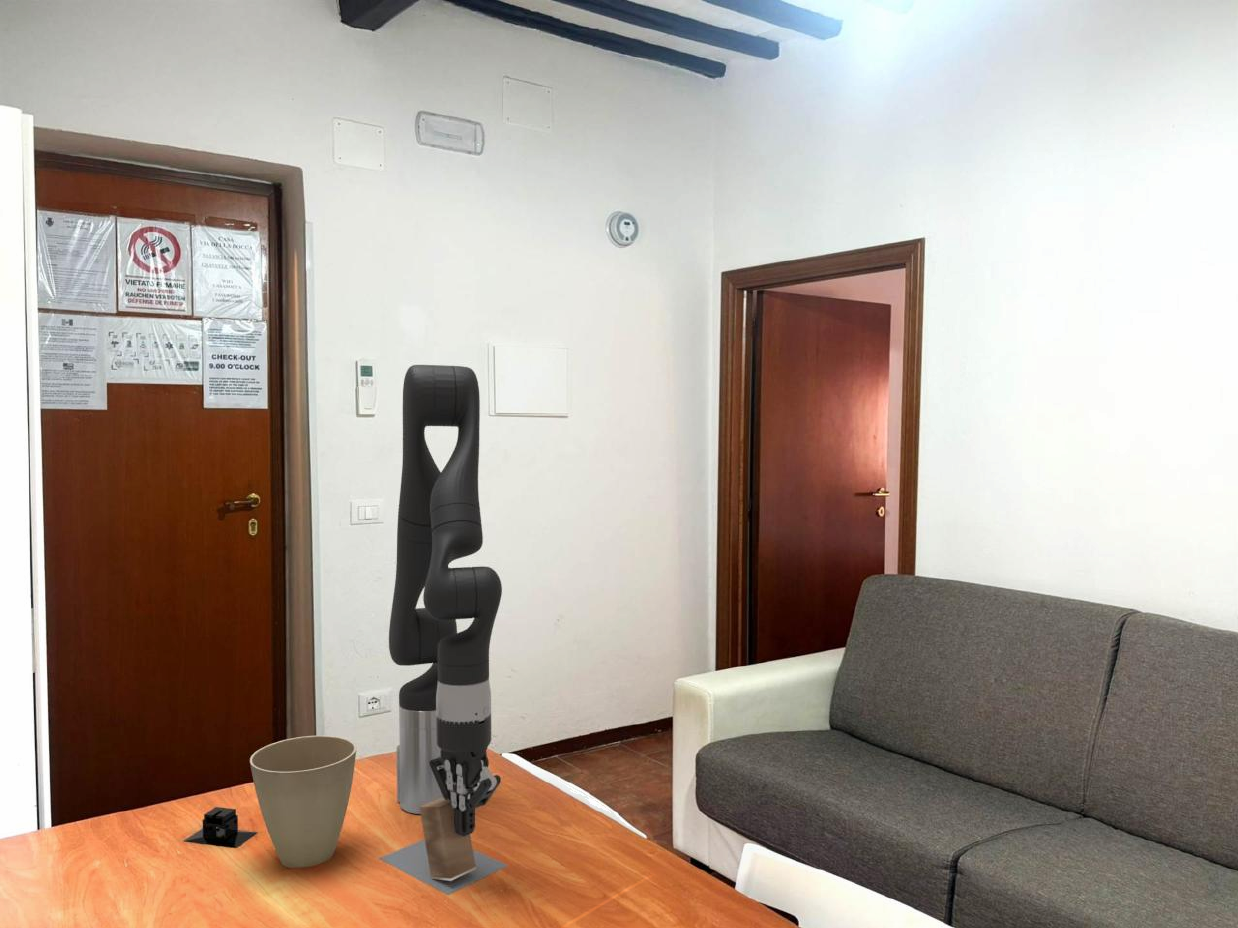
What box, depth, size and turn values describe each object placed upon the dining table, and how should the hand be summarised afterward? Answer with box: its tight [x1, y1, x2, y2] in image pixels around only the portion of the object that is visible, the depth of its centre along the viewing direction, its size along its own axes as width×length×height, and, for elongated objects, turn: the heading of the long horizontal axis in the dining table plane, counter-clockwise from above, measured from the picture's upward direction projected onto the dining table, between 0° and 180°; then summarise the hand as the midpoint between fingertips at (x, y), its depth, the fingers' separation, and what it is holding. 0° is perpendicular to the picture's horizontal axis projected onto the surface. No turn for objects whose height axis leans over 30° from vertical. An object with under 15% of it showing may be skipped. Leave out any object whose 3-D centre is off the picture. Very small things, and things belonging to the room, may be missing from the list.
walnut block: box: [420, 797, 476, 881], centre depth 135 cm, size 4×4×10 cm
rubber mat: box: [378, 838, 509, 896], centre depth 139 cm, size 16×11×1 cm
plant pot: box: [249, 735, 357, 869], centre depth 141 cm, size 15×15×16 cm
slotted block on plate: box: [182, 806, 259, 849], centre depth 148 cm, size 12×7×5 cm, turn 76°
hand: (464, 833), depth 132 cm, fingers closed
